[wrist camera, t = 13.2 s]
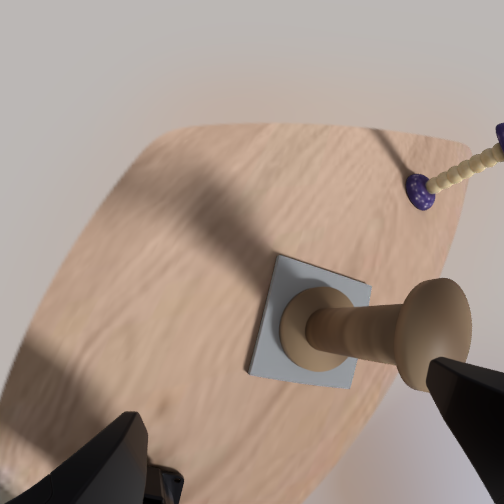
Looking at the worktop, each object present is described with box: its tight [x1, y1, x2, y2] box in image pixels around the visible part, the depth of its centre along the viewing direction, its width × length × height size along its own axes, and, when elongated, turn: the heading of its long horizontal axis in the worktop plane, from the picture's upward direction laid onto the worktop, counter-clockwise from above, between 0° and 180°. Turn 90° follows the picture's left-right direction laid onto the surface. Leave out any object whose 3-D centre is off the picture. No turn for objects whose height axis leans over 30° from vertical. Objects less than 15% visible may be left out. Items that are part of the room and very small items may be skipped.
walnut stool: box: [279, 278, 472, 393], centre depth 16 cm, size 6×6×12 cm
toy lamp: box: [406, 123, 504, 211], centre depth 22 cm, size 5×5×17 cm
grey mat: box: [248, 255, 372, 389], centre depth 22 cm, size 9×9×1 cm
